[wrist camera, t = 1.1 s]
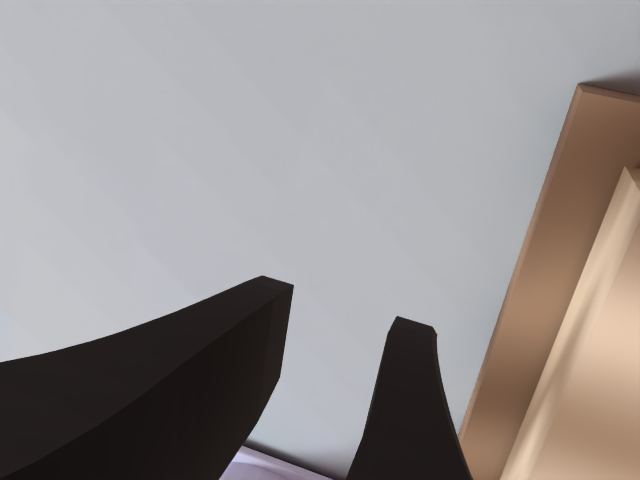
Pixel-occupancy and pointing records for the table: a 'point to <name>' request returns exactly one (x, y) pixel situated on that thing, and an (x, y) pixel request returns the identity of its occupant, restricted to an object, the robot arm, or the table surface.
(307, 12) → the table surface
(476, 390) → the stool seat
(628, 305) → the folding leg
